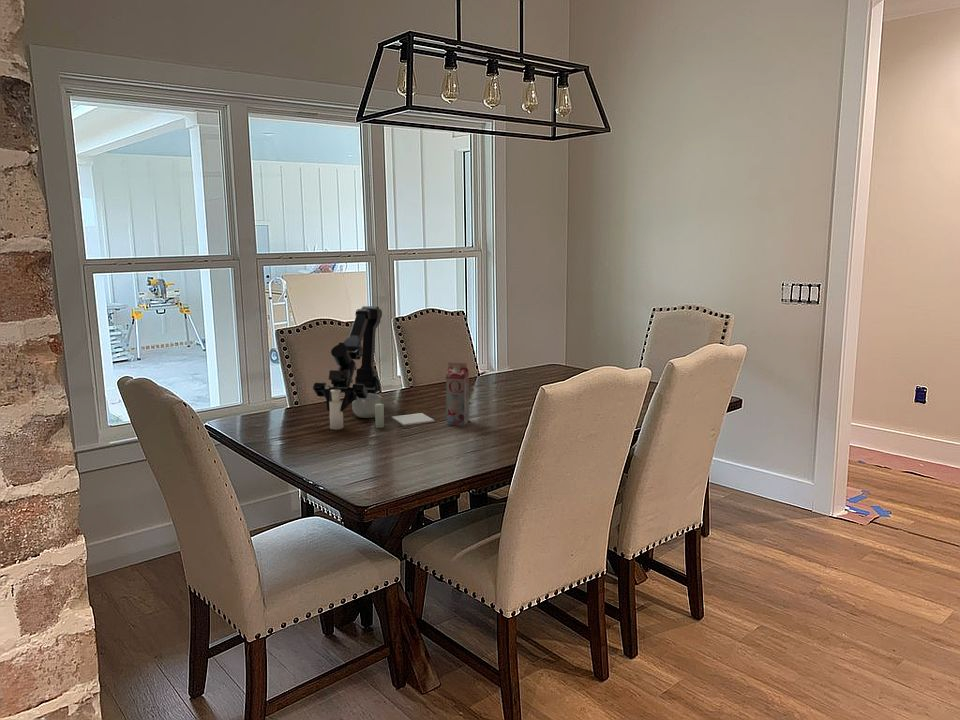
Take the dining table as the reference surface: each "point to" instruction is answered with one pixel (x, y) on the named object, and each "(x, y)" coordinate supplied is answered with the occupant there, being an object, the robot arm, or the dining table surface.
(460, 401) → the juice carton
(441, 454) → the dining table surface
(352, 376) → the robot arm
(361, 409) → the teacup
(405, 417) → the mat
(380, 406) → the post
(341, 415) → the vase
